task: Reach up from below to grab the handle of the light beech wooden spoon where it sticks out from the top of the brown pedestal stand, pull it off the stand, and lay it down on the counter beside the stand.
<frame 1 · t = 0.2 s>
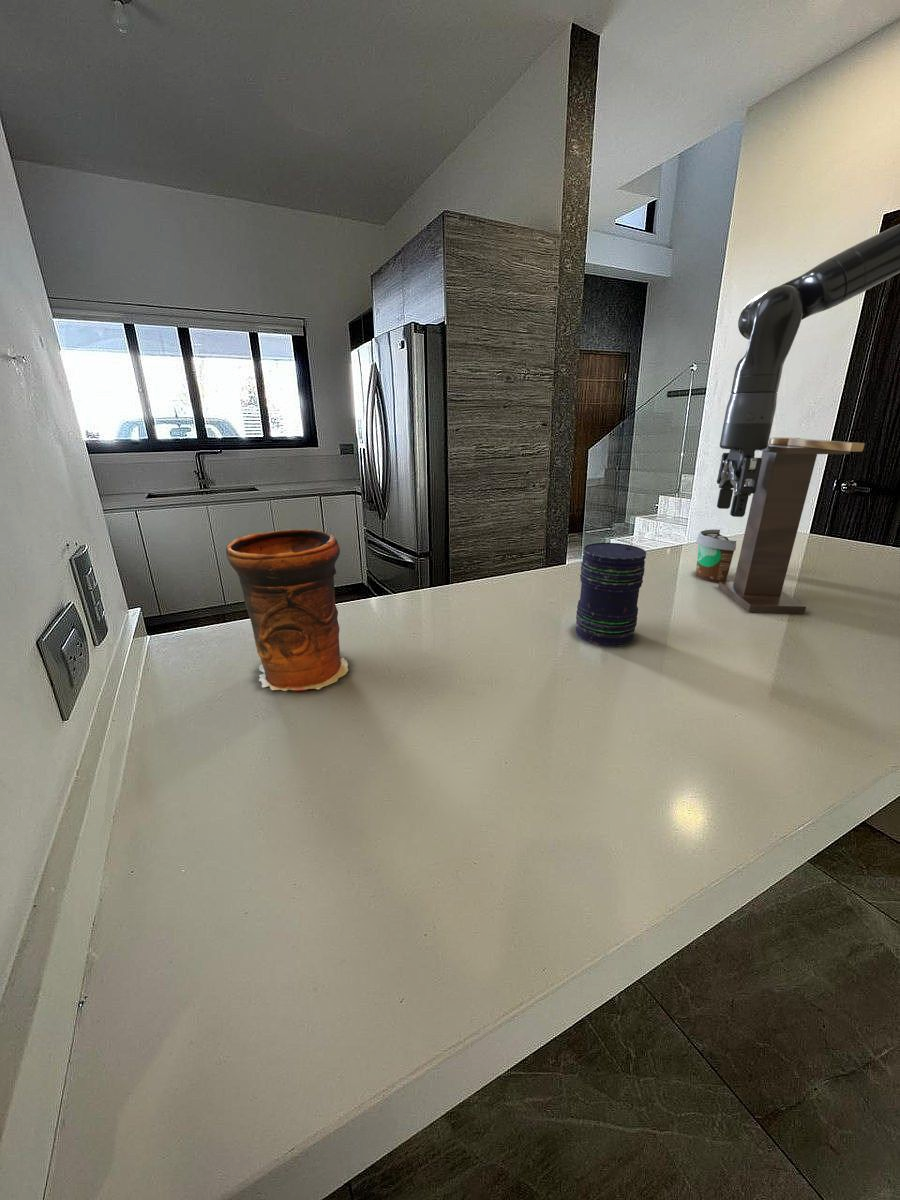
hand: (729, 512, 91), 18 cm above the countertop, tool pointing down, fingers open, 8 cm apart
vessel: (301, 672, 71), on the countertop
food container: (704, 577, 112), on the countertop
wooden spoon: (810, 447, 83), point 30 cm above the countertop, touching brown pedestal stand
storage jar: (603, 635, 82), on the countertop
brown pedestal stand: (758, 600, 97), on the countertop
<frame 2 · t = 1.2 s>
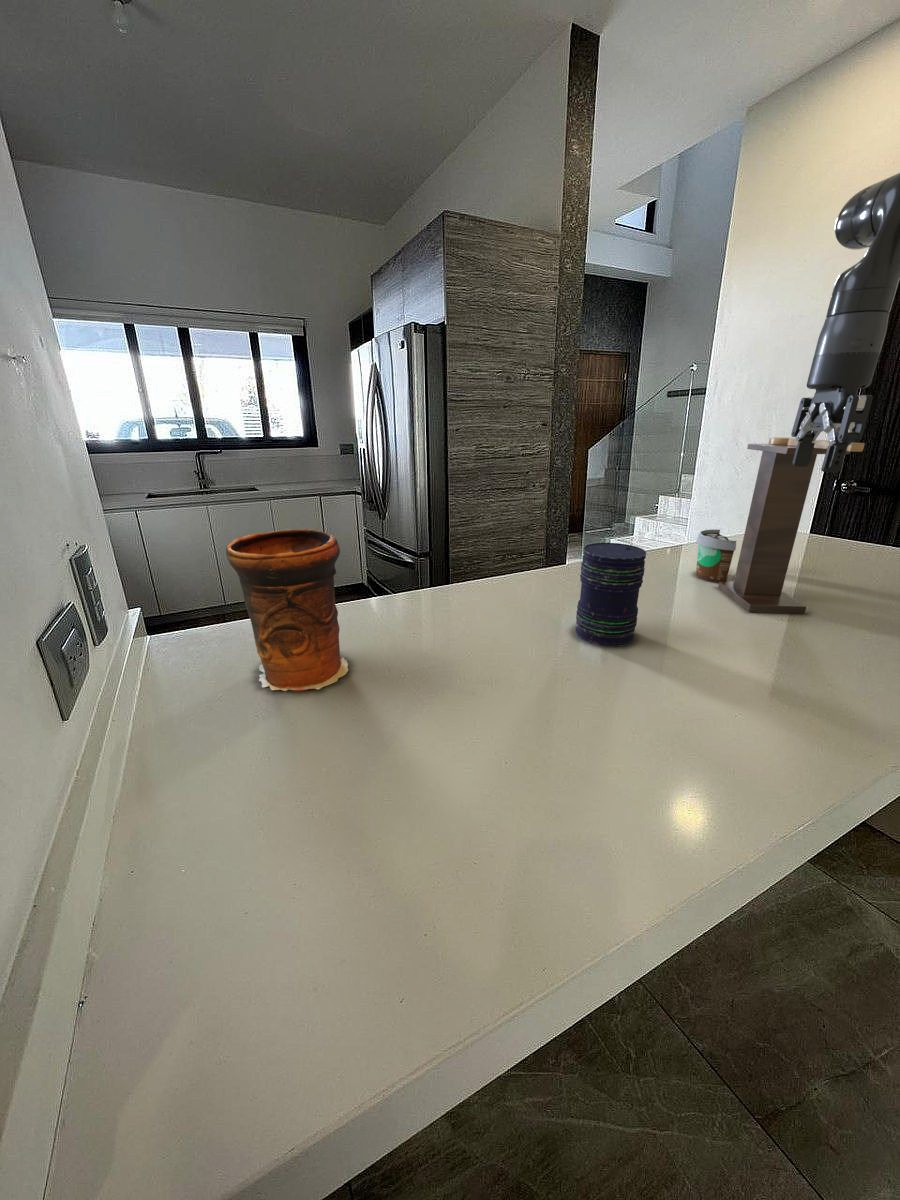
hand: (814, 469, 74), 27 cm above the countertop, tool pointing down, fingers open, 8 cm apart
nothing on the countertop moved.
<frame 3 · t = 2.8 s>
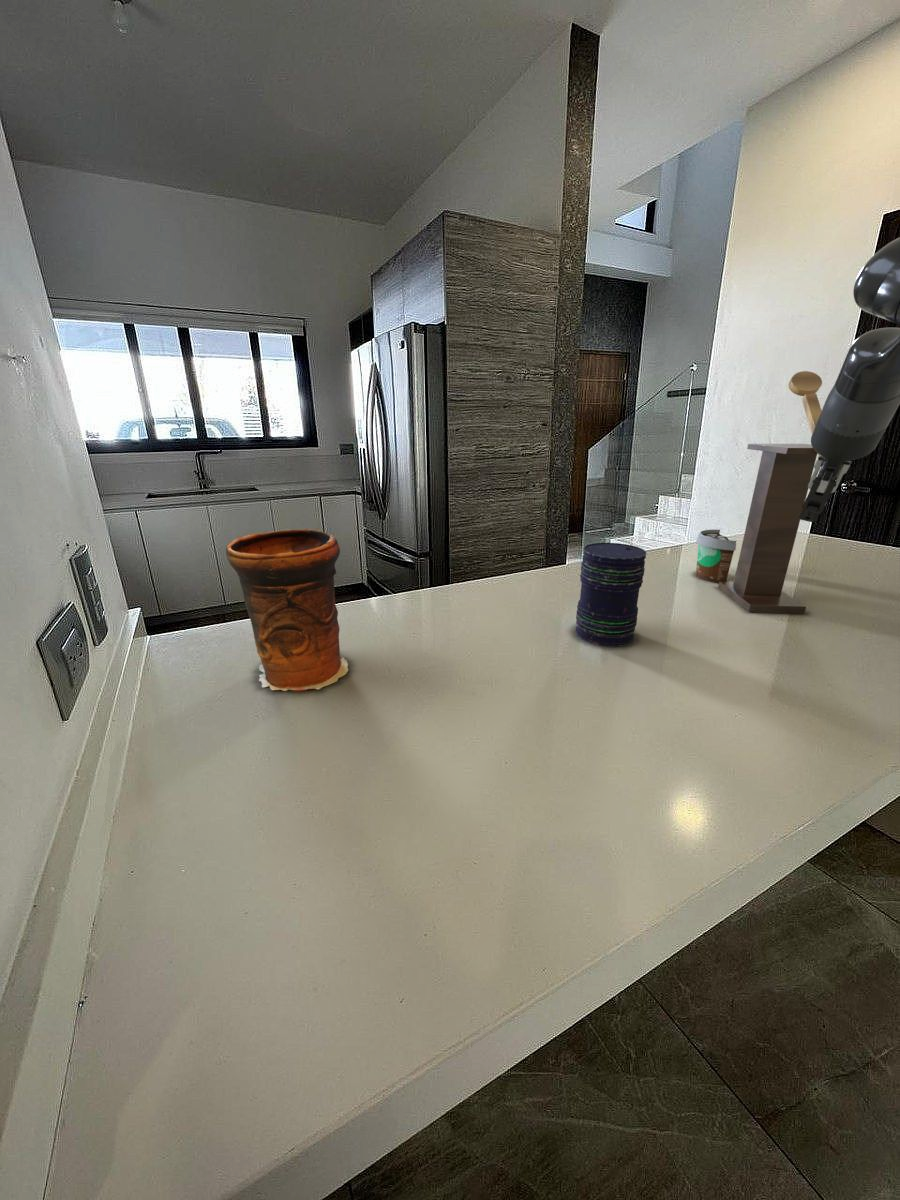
hand: (815, 499, 76), 23 cm above the countertop, tool tilted 40°, fingers open, 8 cm apart
wooden spoon: (814, 422, 82), point 34 cm above the countertop, tilted 46°, touching gripper, brown pedestal stand
everything else where it was.
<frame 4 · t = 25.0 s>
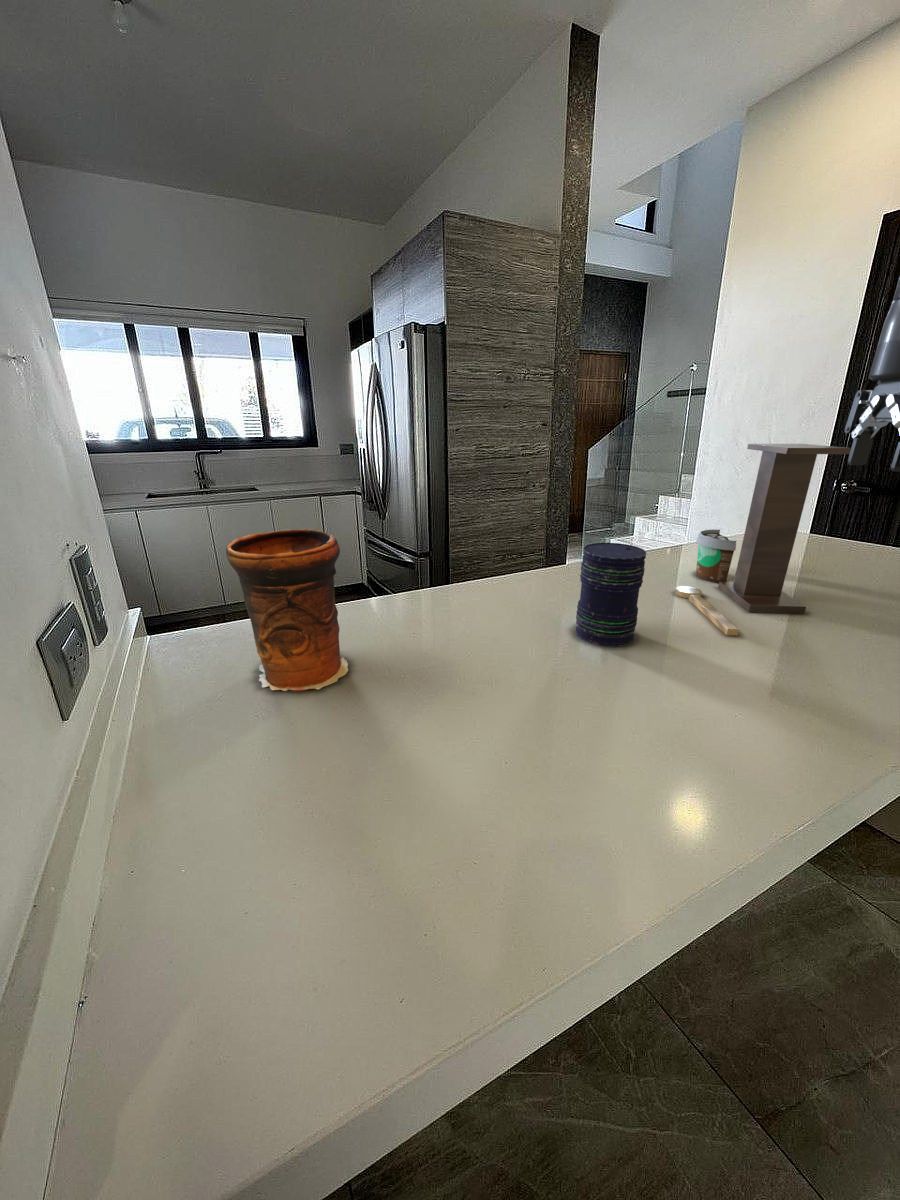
hand: (877, 468, 68), 28 cm above the countertop, tool pointing down, fingers open, 8 cm apart
wooden spoon: (704, 610, 92), on the countertop
everything else where it was.
at the end: wooden spoon on the countertop; wooden spoon moved 32.8 cm from its start; the gripper is holding nothing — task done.
